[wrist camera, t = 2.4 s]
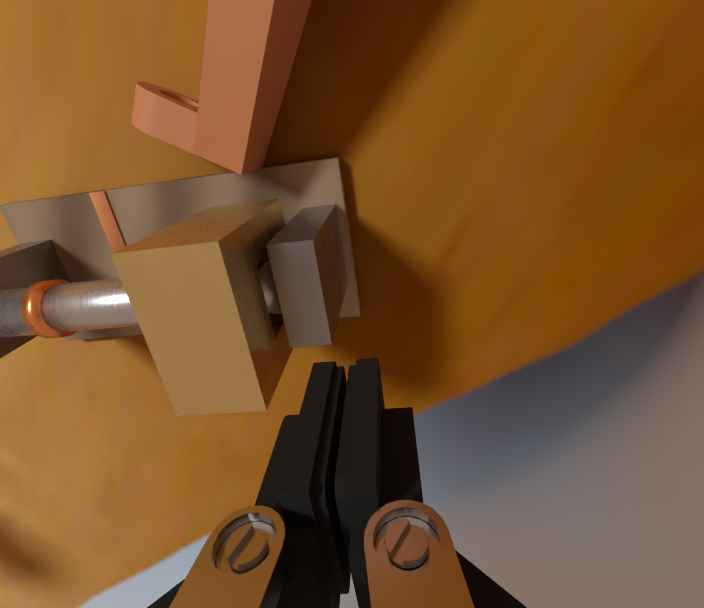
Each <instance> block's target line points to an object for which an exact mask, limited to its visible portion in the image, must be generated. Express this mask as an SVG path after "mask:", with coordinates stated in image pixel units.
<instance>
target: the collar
mask: <svg viewBox="0 0 704 608" xmlns="http://www.w3.org/2000/svg"><path fill="white" fill-rule="evenodd" d="M284 226H285V220H284V216H283V211H282V206H281V201H280V198H277V199H269V200H261V201H253V202H246V203H238V204H230V205H222V206H215V207H208V208H206V209H204V210H202V211H200V212H198V213H195V214H193V215H191V216H189V217H187V218H185V219H183V220H181V221H179V222H176V223H174V224H172V225H170V226H168V227H166V228H164V229H162V230H160V231H158V232H155V233H153V234H151V235H149V236H147V237H145V238H143V239H141V240H139V241H136V242H134V243H132V244H130V245H128V246H126V247H124V248H122V249H120V250H117V251H115V252H113V253H111V254H110V255H111V257H112V260H113V262H114V265H115V267H116V269H117V272H118V274H119V277H120V279H121V282H122V284H123V286H124V289H125V291H126V294H127V296H128V299H129V301H130V303H131V306H132V308H133V311H134V313H135V316H136V318H137V321H138V323H139V325H140V328H141V330H142V333H143V335H144V338H145V340H146V342H147V345H148V347H149V350H150V352H151V355H152V357H153V359H154V362H155V364H156V367H157V369H158V372H159V374H160V377H161V379H162V381H163V384H164V386H165V389H166V391H167V394H168V396H169V398H170V401H171V403H172V406H173V408H174V411H175V413H176V415H177V416H178V415H197V414H216V413H234V412H253V411H267V409H268V406H269V404H270V402H271V399H272V397H273V394H274V392H275V390H276V387H277V385H278V383H279V380H280V378H281V375H282V373H283V371H284V368H285V366H286V364H287V361H288V359H289V357H290V354H291V352H292V349H293V347H290V345H289V340H288V336H287V332H286V328H285V323H284V319H283V315H282V313H276V314H269V313H268V309H267V305H266V301H265V297H264V293H263V289H262V285H261V281H260V277H259V273H258V269H257V265H256V264H257V263H262V262H270V260H269V255H268V251H267V247H266V245H267V244H268V243H269V242H270V240H271V239H272V238H273V237H274V236H275V235H276V234H277V233H278V232H279V231H280V230H281V229H282V228H283V227H284Z"/></svg>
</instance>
